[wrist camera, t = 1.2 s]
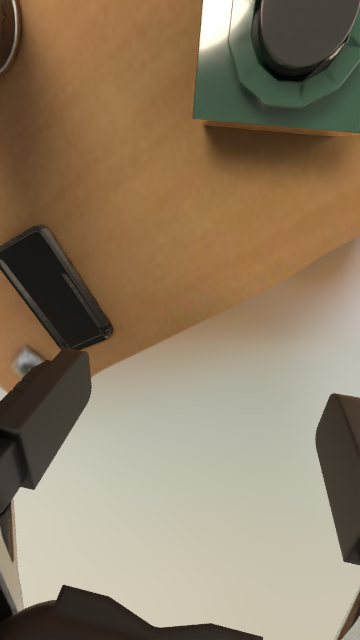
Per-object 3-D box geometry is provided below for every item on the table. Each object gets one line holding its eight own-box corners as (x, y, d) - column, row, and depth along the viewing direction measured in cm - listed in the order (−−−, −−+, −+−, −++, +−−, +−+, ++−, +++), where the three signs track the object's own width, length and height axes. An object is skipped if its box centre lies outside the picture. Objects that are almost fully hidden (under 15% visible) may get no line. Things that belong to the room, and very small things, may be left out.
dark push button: (249, 73, 18) (251, 63, 16) (266, -38, 16) (271, -67, 13) (329, 79, 17) (343, 69, 15) (358, -34, 15) (379, -65, 13)
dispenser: (203, 125, 28) (187, 116, 19) (217, -19, 23) (205, -117, 14) (333, 136, 26) (378, 132, 18) (374, -12, 22) (462, -113, 13)
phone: (65, 355, 41) (-13, 253, 36) (69, 350, 42) (-6, 250, 37) (113, 336, 39) (38, 223, 33) (116, 332, 40) (44, 221, 34)
